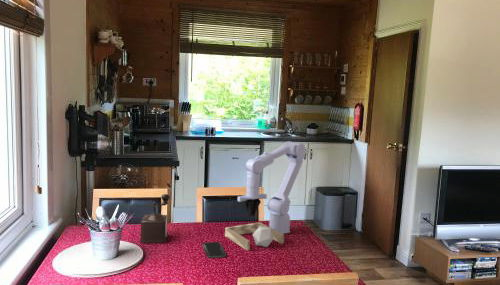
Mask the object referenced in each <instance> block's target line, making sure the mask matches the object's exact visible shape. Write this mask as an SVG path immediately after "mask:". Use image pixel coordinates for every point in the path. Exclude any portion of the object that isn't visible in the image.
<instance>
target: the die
mask: <svg viewBox="0 0 500 285" xmlns="http://www.w3.org/2000/svg"><path fill="white" fill-rule="evenodd" d="M252 237H253V240H254V243H255V246H258V247H265V248H268V247H269V246H270V244H271V243H272V242H273V241H274V238H273V235H272V231H271V228H267V227H261V226H259V227H258V229H257V230H256V231H255V232H253V233H252Z"/></svg>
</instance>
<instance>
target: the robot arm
mask: <svg viewBox="0 0 500 285" xmlns="http://www.w3.org/2000/svg"><path fill="white" fill-rule="evenodd" d="M306 153H307V149H306V147H305V144H304V143H302V142H301V143H299V142H295V141H294V142H293V141H290V140H287V141H285V142H284V143H282V145H280V146H279V147H278V148H275V149H274V150H272V151H271V152H268V151H263V152H262V154H260V155H258V156H255V157H254V158H250V159H248V160H247V161H246V163H245V164H244V168H245V171H246V174H247V175H246V176H247V178H246V194H243V195H240V196H239V195H238V196H237V202H239V203H240V202H241V203H242V202H244V204H245V207H246V211H247V215H248V216H249V217H252V216H253V217H255V216H256V213H257V210H258V208H259V206H260V204H261V202H262V201H261V200H262V199H263V200H266V199H268V195H267V193H260V185H261V183H260V182H261V180H260V179H261V173H262V172H263V171H264V169H265V168H266V167H268V166H270V165H272V164H274V162H275V160H276V159H278V158H280V157H282V156H284V155H285V156H286V157H287V159H288V160H289V164H288V167H287V169H286V172H285V174H284V175H283V176H284V177H283V179H282V182H281V183H280V186H279V188H278V190H277V191H276V192H275V193H272V195H271V197H270V199H268V201H267V203H266V204H267V205H266V208H267V209H268V213H269V224H268V227H270V228H272V229H274V230H276V231H278V232H280V233H282V234H283V235H285V234H289V233H291V231H290V227H291V226H290V225H291V217H290V214H289V213H288V212H289V211H290V205H291V199H290V198H289V195H290V194H291V191H292V188H293V186H294V184H295V182H296V179H297V178H298V174H299V172H300V169H302V168H301V167H302V165H303V162H304V158H305V156H306Z"/></svg>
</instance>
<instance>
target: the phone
mask: <svg viewBox="0 0 500 285" xmlns="http://www.w3.org/2000/svg"><path fill="white" fill-rule="evenodd" d="M201 246H202V249H203V251H204V254H205V255H206V258H207V259H224V258H227V253H226V251H225V249H224V247H223V246H222V244H221V242H219V241H214V242H213V241H211V242H210V241H209V242H208V241H207V242H203V243H202V242H201Z"/></svg>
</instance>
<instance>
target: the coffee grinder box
mask: <svg viewBox="0 0 500 285" xmlns="http://www.w3.org/2000/svg"><path fill="white" fill-rule="evenodd" d="M160 198H161V200H162V202H161V204H160V203H159V204H157V203H156V201H153V202H152V207H153V209H152V210H153V212H152V213H150V214H144V215H143V217H142V219H141V221H140V243H141V244H165V243H166V242H167V239H168V238H169V236H168V235H167V234H168V233H167V230H168V215H167V214H163V213H162V214H161V213H158V212H156V210H157V209H156V207H163V206H164V207H165V206H166V205H169V200H170V198H171V196H170V194H167V193H164V194H162V195H161V197H160Z"/></svg>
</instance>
